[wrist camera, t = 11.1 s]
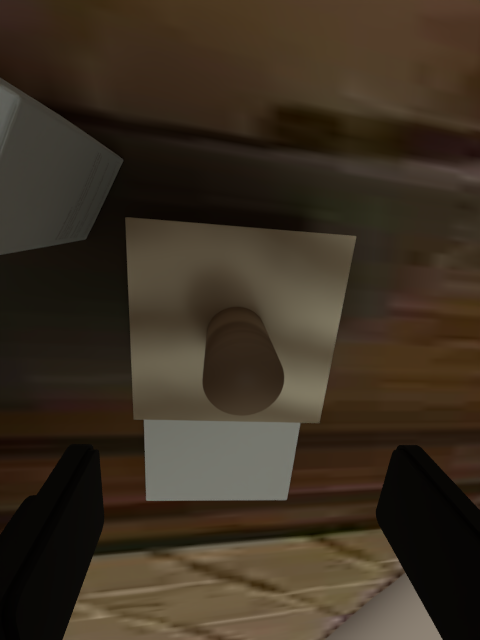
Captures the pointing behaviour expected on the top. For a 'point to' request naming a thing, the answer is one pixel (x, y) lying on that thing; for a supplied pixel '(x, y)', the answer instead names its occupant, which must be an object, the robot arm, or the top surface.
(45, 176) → the supplement box
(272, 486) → the mat
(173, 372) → the lid
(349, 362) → the top surface
